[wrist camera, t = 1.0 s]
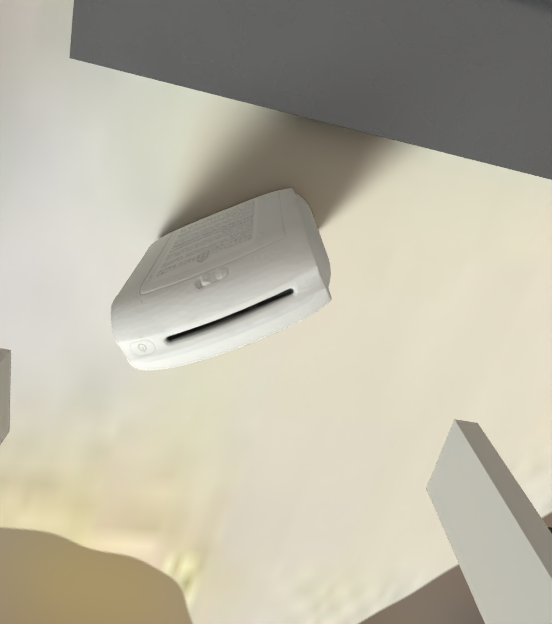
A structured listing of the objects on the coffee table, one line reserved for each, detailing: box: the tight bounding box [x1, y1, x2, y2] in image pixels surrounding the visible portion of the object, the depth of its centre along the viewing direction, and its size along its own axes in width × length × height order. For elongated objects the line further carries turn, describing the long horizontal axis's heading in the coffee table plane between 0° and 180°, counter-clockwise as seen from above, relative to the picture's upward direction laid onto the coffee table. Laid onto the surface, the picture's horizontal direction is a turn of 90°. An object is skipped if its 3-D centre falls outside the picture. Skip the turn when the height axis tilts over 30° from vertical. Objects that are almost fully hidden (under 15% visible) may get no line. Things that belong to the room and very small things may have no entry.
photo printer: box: [111, 188, 331, 370], centre depth 27 cm, size 10×4×12 cm, turn 111°
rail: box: [70, 0, 552, 180], centre depth 26 cm, size 32×9×6 cm, turn 77°
